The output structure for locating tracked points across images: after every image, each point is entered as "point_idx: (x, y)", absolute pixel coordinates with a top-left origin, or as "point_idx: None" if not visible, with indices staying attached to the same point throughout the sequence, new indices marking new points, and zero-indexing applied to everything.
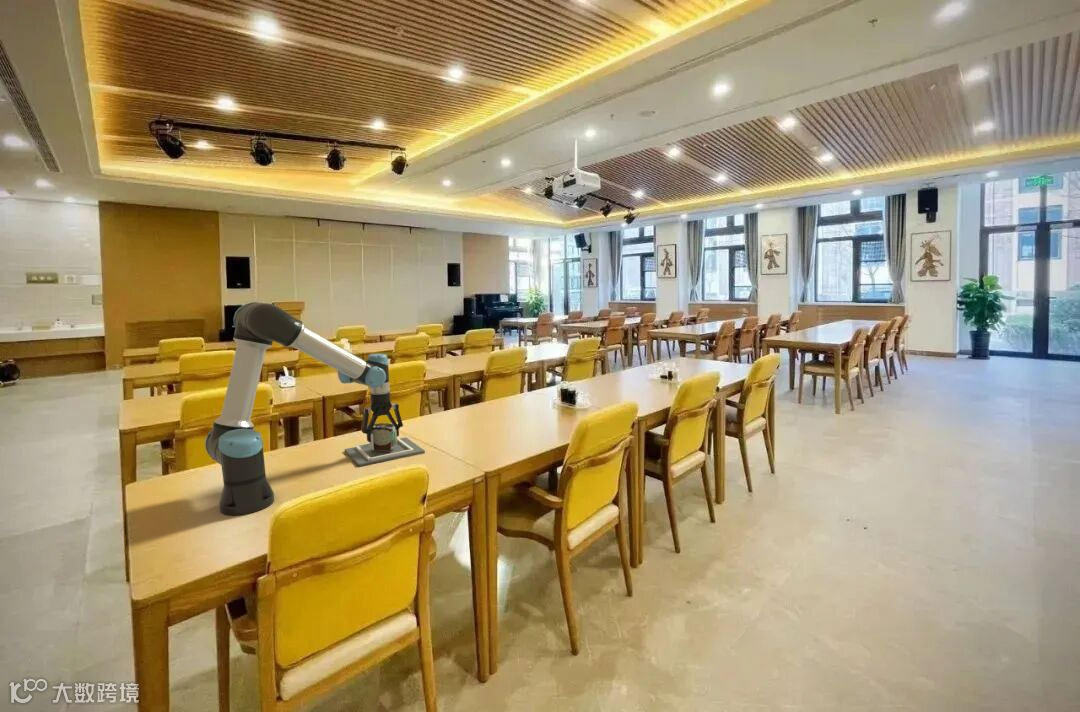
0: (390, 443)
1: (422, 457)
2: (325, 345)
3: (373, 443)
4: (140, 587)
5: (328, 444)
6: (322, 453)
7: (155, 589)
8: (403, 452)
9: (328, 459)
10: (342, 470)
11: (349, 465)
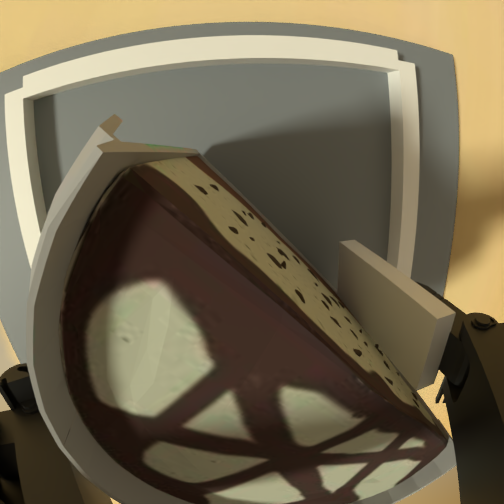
0: (195, 163)
1: (11, 4)
2: None
3: (369, 264)
4: None
5: None
6: None
7: None
8: (99, 54)
9: (493, 284)
10: (496, 79)
11: (472, 125)
